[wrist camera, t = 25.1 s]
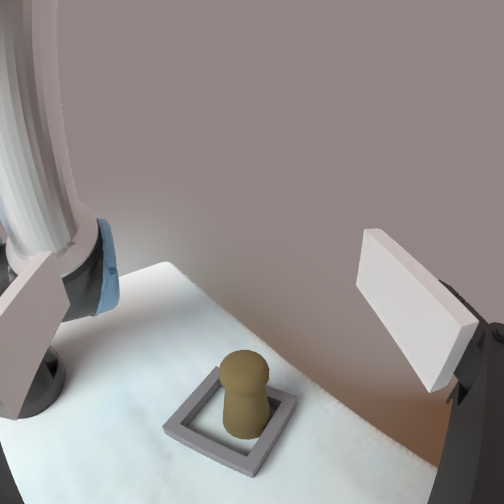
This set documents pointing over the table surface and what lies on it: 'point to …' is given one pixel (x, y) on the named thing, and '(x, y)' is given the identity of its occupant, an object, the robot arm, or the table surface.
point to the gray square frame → (218, 452)
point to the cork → (245, 394)
